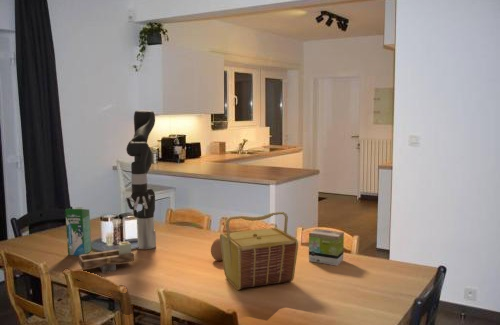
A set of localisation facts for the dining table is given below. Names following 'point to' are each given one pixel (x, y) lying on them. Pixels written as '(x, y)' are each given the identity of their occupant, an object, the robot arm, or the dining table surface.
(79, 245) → the milk carton
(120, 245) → the block
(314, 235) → the tea box
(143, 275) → the dining table surface
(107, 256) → the beam
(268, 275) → the picnic basket
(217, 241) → the egg
